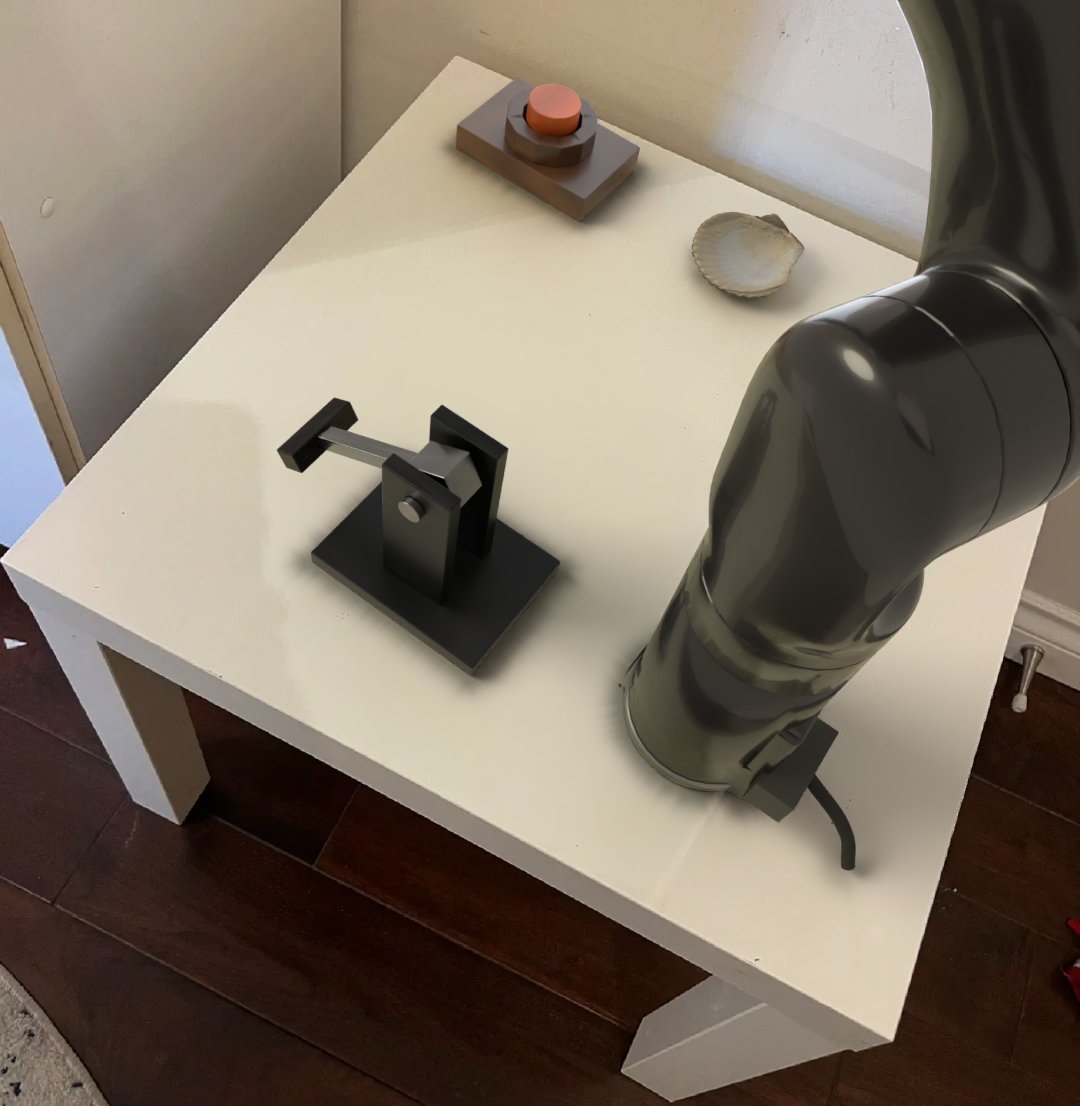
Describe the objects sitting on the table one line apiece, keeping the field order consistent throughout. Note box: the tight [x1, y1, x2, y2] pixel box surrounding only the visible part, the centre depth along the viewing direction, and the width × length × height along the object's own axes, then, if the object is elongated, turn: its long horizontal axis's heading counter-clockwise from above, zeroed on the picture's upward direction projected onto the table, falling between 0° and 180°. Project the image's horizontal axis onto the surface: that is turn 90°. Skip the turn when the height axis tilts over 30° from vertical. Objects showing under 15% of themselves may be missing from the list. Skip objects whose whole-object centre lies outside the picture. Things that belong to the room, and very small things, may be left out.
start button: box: [526, 83, 581, 137], centre depth 79 cm, size 4×4×2 cm
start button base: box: [455, 77, 641, 223], centre depth 81 cm, size 12×8×4 cm, turn 55°
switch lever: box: [276, 397, 482, 508], centre depth 57 cm, size 12×5×2 cm, turn 55°
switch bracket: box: [310, 404, 562, 677], centre depth 58 cm, size 12×9×12 cm
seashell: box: [691, 211, 805, 299], centre depth 78 cm, size 8×3×8 cm
